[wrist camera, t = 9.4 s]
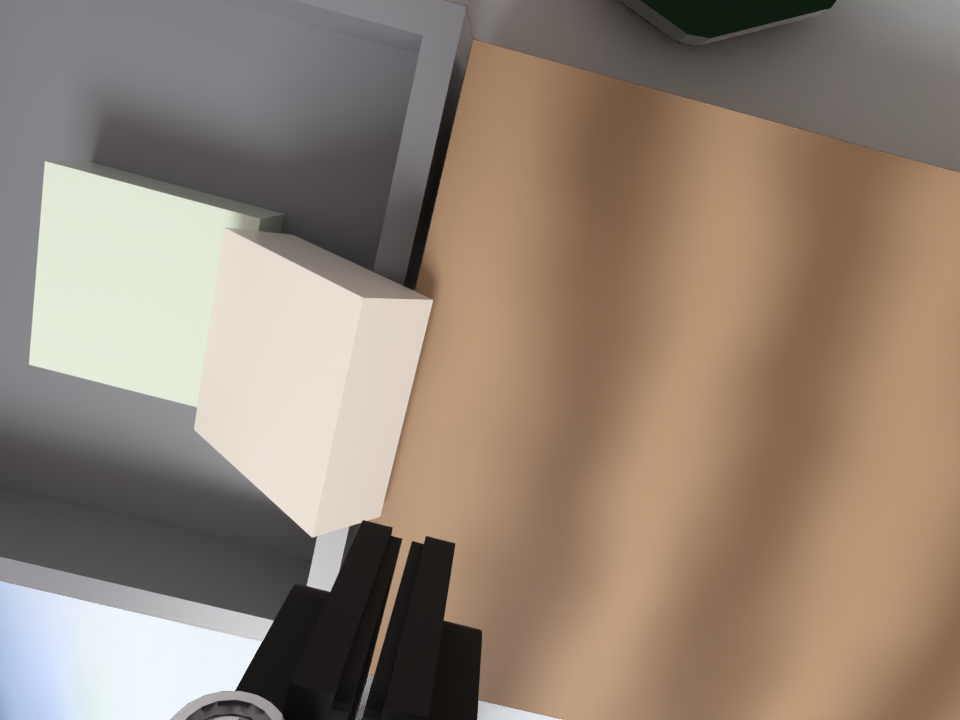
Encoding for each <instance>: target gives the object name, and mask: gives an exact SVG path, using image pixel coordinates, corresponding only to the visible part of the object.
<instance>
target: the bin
mask: <svg viewBox="0 0 960 720" xmlns="http://www.w3.org/2000/svg"><path fill="white" fill-rule="evenodd" d="M472 39H473V38H472V33H471V28H470V22H469V17H468V12H467V7H466V6H463V5H459V4H455V3H452V2H448V1H445V0H0V581H3V582H7V583H11V584H16V585H20V586H24V587H29V588H33V589H37V590H42V591H46V592H50V593H55V594H59V595H63V596H67V597H72V598H76V599H80V600H85V601H89V602H93V603H98V604H102V605H106V606H111V607H115V608H119V609H124V610H128V611H132V612H137V613H141V614H145V615H149V616H154V617H158V618H162V619H167V620H171V621H175V622H180V623H184V624H188V625H193V626H197V627H201V628H206V629H210V630H214V631H219V632H223V633H227V634H231V635H236V636H240V637H244V638H249V639H253V640H257V641H263V640H264V638H265V636H266V634H267V632H268V630H269V629H270V627H271V625H272V623H273V621H274V620H275V618H276V616H277V614H278V612H279V610H280V609H281V607H282V605H283V603H284V601H285V600H286V598H287V596H288V594H289V592H290V590H291V589H292V587H293V586H294V585H295V584H296V583H297V584H301V585H305V586H309V587H313V588H317V589H321V590H325V591H329V592H331V589H332V587H333V585H334V583H335V580H336V578H337V576H338V574H339V571H340V569H341V567H342V565H343V563H344V560H345V558H346V556H347V554H348V551H349V549H350V547H351V545H352V543H353V540H354V538H355V536H356V534H357V531H358V529H359V527H360V525H361V523H359V524H355V525H352V526H349V527H345V528H342V529H339V530H336V531H332V532H329V533H326V534H323V535H319V536H316V537H313V538H312V537H311V536H310V535H309V534H307V533H306V532H305V531H304V530H303V529H302V528H301V527H300V526H299V525H298V524H297V523H295V522H294V521H293V520H292V519H291V518H290V517H289V516H288V515H287V514H286V513H285V512H283V511H282V510H281V509H280V508H279V507H278V506H277V505H276V504H275V503H274V502H273V501H271V500H270V499H269V498H268V497H267V496H266V495H265V494H264V493H263V492H262V491H260V490H259V489H258V488H257V487H256V486H255V485H254V484H253V483H252V482H251V481H250V480H248V479H247V478H246V477H245V476H244V475H243V474H242V473H241V472H240V471H239V470H238V469H236V468H235V467H234V466H233V465H232V464H231V463H230V462H229V461H228V460H227V459H226V458H224V457H223V456H222V455H221V454H220V453H219V452H218V451H217V450H216V449H215V448H213V447H212V446H211V445H210V444H209V443H208V442H207V441H206V440H205V439H204V438H203V437H201V436H200V435H199V434H198V433H197V432H196V431H195V430H194V425H195V418H196V412H197V407H194V406H190V405H186V404H182V403H178V402H174V401H170V400H166V399H162V398H158V397H154V396H150V395H146V394H143V393H139V392H135V391H131V390H127V389H123V388H119V387H115V386H111V385H107V384H103V383H99V382H95V381H91V380H87V379H84V378H80V377H76V376H72V375H68V374H64V373H60V372H56V371H52V370H48V369H44V368H40V367H36V366H32V365H29V356H30V343H31V331H32V318H33V305H34V293H35V280H36V267H37V255H38V242H39V229H40V216H41V204H42V191H43V178H44V166H45V161H62V162H92V163H96V164H100V165H103V166H107V167H111V168H114V169H118V170H122V171H126V172H129V173H133V174H137V175H140V176H144V177H148V178H152V179H155V180H159V181H163V182H166V183H170V184H174V185H178V186H181V187H185V188H189V189H192V190H196V191H200V192H204V193H207V194H211V195H215V196H219V197H222V198H226V199H230V200H233V201H237V202H241V203H245V204H248V205H252V206H256V207H259V208H263V209H267V210H271V211H274V212H278V213H282V214H284V219H283V225H282V230H281V234H290V235H294V236H297V237H299V238H301V239H303V240H305V241H307V242H310V243H312V244H314V245H316V246H318V247H320V248H322V249H325V250H327V251H329V252H331V253H333V254H335V255H338V256H340V257H342V258H344V259H346V260H348V261H351V262H353V263H355V264H357V265H359V266H361V267H363V268H366V269H368V270H370V271H372V272H374V273H376V274H379V275H381V276H383V277H385V278H387V279H389V280H392V281H394V282H396V283H398V284H400V285H402V286H404V287H407V288H409V289H411V290H413V291H415V286H416V282H417V278H418V273H419V269H420V265H421V260H422V256H423V252H424V247H425V243H426V239H427V234H428V230H429V226H430V221H431V217H432V213H433V208H434V204H435V200H436V195H437V191H438V187H439V182H440V178H441V174H442V169H443V165H444V161H445V156H446V152H447V147H448V143H449V139H450V134H451V130H452V126H453V121H454V117H455V113H456V108H457V104H458V100H459V95H460V91H461V87H462V82H463V78H464V74H465V69H466V65H467V61H468V56H469V52H470V48H471V43H472Z"/></svg>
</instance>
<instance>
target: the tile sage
mask: <svg viewBox="0 0 960 720" xmlns="http://www.w3.org/2000/svg"><path fill="white" fill-rule="evenodd" d="M283 219H284V214H282V213H278V212H274V211H271V210H267V209H263V208H259V207H256V206H252V205H248V204H245V203H241V202H237V201H233V200H230V199H226V198H222V197H219V196H215V195H211V194H207V193H204V192H200V191H196V190H192V189H189V188H185V187H181V186H178V185H174V184H170V183H166V182H163V181H159V180H155V179H152V178H148V177H144V176H140V175H137V174H133V173H129V172H126V171H122V170H118V169H114V168H111V167H107V166H103V165H100V164H96V163H92V162H62V161H45V166H44V178H43V191H42V204H41V216H40V229H39V242H38V255H37V267H36V280H35V293H34V305H33V318H32V331H31V343H30V356H29V365H32V366H36V367H40V368H44V369H48V370H52V371H56V372H60V373H64V374H68V375H72V376H76V377H80V378H84V379H87V380H91V381H95V382H99V383H103V384H107V385H111V386H115V387H119V388H123V389H127V390H131V391H135V392H139V393H143V394H146V395H150V396H154V397H158V398H162V399H166V400H170V401H174V402H178V403H182V404H186V405H190V406H194V407H197V405H198V398H199V392H200V385H201V378H202V371H203V365H204V358H205V351H206V345H207V338H208V331H209V325H210V318H211V311H212V304H213V298H214V291H215V284H216V278H217V271H218V264H219V258H220V251H221V244H222V237H223V231H224V227H226V228H235V229H244V230H253V231H262V232H272V233H281V230H282V225H283Z"/></svg>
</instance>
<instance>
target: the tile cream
mask: <svg viewBox="0 0 960 720" xmlns="http://www.w3.org/2000/svg"><path fill="white" fill-rule="evenodd" d="M432 303H433V299H430V298H428V297H426V296H424V295H422V294H420V293H417V292H415V291H413V290H411V289H409V288H407V287H404V286H402V285H400V284H398V283H396V282H394V281H392V280H389V279H387V278H385V277H383V276H381V275H379V274H376V273H374V272H372V271H370V270H368V269H366V268H363V267H361V266H359V265H357V264H355V263H353V262H351V261H348V260H346V259H344V258H342V257H340V256H338V255H335V254H333V253H331V252H329V251H327V250H325V249H322V248H320V247H318V246H316V245H314V244H312V243H310V242H307V241H305V240H303V239H301V238H299V237H297V236H294V235H290V234H281V233H272V232H262V231H253V230H244V229H235V228H226V227H224V231H223V237H222V244H221V251H220V258H219V264H218V271H217V278H216V284H215V291H214V298H213V304H212V311H211V318H210V325H209V331H208V338H207V345H206V351H205V358H204V365H203V371H202V378H201V385H200V392H199V398H198V405H197V412H196V418H195V425H194V430H195V431H196V432H197V433H198V434H199V435H200V436H201V437H203V438H204V439H205V440H206V441H207V442H208V443H209V444H210V445H211V446H212V447H213V448H215V449H216V450H217V451H218V452H219V453H220V454H221V455H222V456H223V457H224V458H226V459H227V460H228V461H229V462H230V463H231V464H232V465H233V466H234V467H235V468H236V469H238V470H239V471H240V472H241V473H242V474H243V475H244V476H245V477H246V478H247V479H248V480H250V481H251V482H252V483H253V484H254V485H255V486H256V487H257V488H258V489H259V490H260V491H262V492H263V493H264V494H265V495H266V496H267V497H268V498H269V499H270V500H271V501H273V502H274V503H275V504H276V505H277V506H278V507H279V508H280V509H281V510H282V511H283V512H285V513H286V514H287V515H288V516H289V517H290V518H291V519H292V520H293V521H294V522H295V523H297V524H298V525H299V526H300V527H301V528H302V529H303V530H304V531H305V532H306V533H307V534H309V535H310V536H311V537H312V538H313V537H316V536H319V535H323V534H326V533H329V532H332V531H336V530H339V529H342V528H345V527H349V526H352V525H355V524H359V523H362V521H363V520H366V521H368V520H372V519H375V518H378V517H380V516H381V511H382V507H383V503H384V499H385V495H386V491H387V487H388V483H389V479H390V475H391V471H392V466H393V462H394V458H395V454H396V450H397V446H398V442H399V438H400V434H401V430H402V426H403V422H404V417H405V413H406V409H407V405H408V401H409V397H410V393H411V389H412V385H413V381H414V377H415V372H416V368H417V364H418V360H419V356H420V352H421V348H422V344H423V340H424V336H425V332H426V327H427V323H428V319H429V315H430V311H431V307H432Z"/></svg>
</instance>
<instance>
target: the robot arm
mask: <svg viewBox="0 0 960 720" xmlns="http://www.w3.org/2000/svg"><path fill="white" fill-rule="evenodd" d="M392 530H393V527H389V526H385V525H381V524H377V523H373V522H370V521H366V520H363V521H362V523H361V525H360V527H359V529H358V531H357V534H356V536H355V538H354V540H353V543H352V545H351V547H350V549H349V551H348V554H347V556H346V558H345V560H344V563H343V565H342V567H341V569H340V571H339V574H338V576H337V578H336V580H335V583H334V585H333V587H332V589H331V592H329V591H325V590H321V589H317V588H313V587H309V586H305V585H301V584H297V583H296V584H295V585H294V586H293V587H292V589H291V590H290V592H289V594H288V596H287V598H286V600H285V601H284V603H283V605H282V607H281V609H280V610H279V612H278V614H277V616H276V618H275V620H274V621H273V623H272V625H271V627H270V629H269V630H268V632H267V634H266V636H265V638H264V640H263V641H262V643H261V645H260V647H259V649H258V650H257V652H256V654H255V656H254V658H253V659H252V661H251V663H250V665H249V667H248V669H247V670H246V672H245V674H244V676H243V678H242V679H241V681H240V683H239V685H238V687H237V689H236V690H235V691H221V692H217V693H212V694H208V695H204V696H202V697H200V698H198V699H196V700H194V701H192V702H190V703H188V704H187V705H186V706H184V707H183V708H182V709H181V710H180V711H179V712H178V713H176V714H175V715H174V716H173V717H172V718H171V720H355V719H356V715H357V712H358V708H359V705H360V702H361V698H362V695H363V691H364V688H365V684H366V681H367V677H368V674H369V670H370V666H371V662H372V658H373V654H374V650H375V646H376V642H377V638H378V634H379V630H380V626H381V622H382V618H383V614H384V610H385V606H386V603H387V599H388V595H389V591H390V587H391V583H392V579H393V575H394V571H395V567H396V563H397V559H398V555H399V551H400V547H401V543H402V538H398V537H394V536H391V535H392ZM454 551H455V543H452V542H448V541H444V540H440V539H436V538H433V537H429V536H426V537H425V541H424V544H422V543H418V542H414V541H412V543H411V546H410V550H409V553H408V557H407V561H406V564H405V568H404V571H403V575H402V578H401V582H400V585H399V589H398V593H397V596H396V600H395V603H394V607H393V610H392V614H391V617H390V621H389V625H388V628H387V632H386V635H385V639H384V642H383V646H382V649H381V653H380V657H379V660H378V664H377V667H376V671H375V674H374V678H373V682H372V685H371V689H370V692H369V696H368V700H367V703H366V707H365V711H364V715H363V719H362V720H477V712H478V696H479V680H480V664H481V648H482V631H481V630H480V629H476V628H472V627H468V626H464V625H460V624H456V623H452V622H448V621H444V615H445V609H446V602H447V596H448V589H449V583H450V577H451V570H452V564H453V557H454Z"/></svg>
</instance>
